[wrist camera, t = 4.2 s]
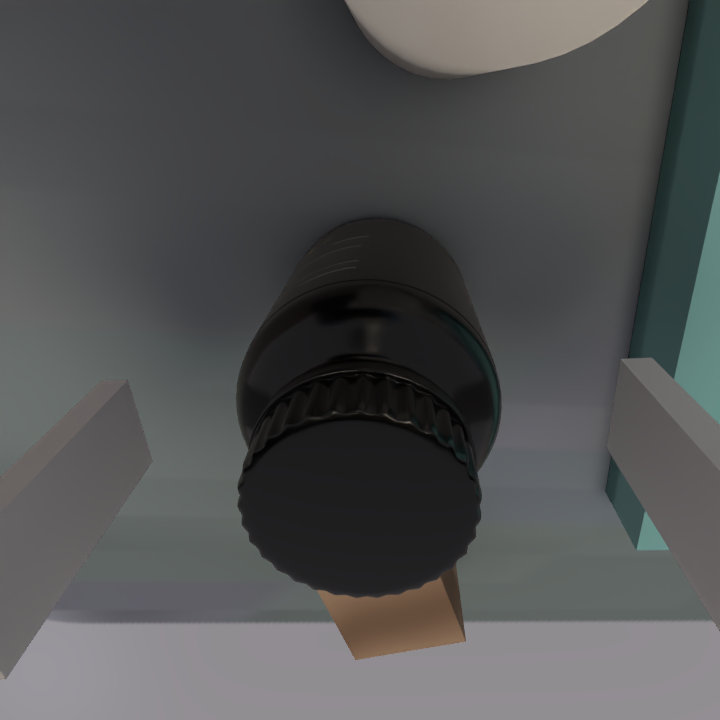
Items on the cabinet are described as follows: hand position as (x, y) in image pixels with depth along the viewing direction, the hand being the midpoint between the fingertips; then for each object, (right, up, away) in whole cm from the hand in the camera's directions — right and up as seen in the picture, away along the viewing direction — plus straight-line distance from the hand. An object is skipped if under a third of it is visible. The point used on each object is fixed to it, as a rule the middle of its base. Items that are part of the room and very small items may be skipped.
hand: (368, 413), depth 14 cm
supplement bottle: (+1, +4, +7) cm, 8 cm away
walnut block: (+1, -7, +12) cm, 14 cm away
